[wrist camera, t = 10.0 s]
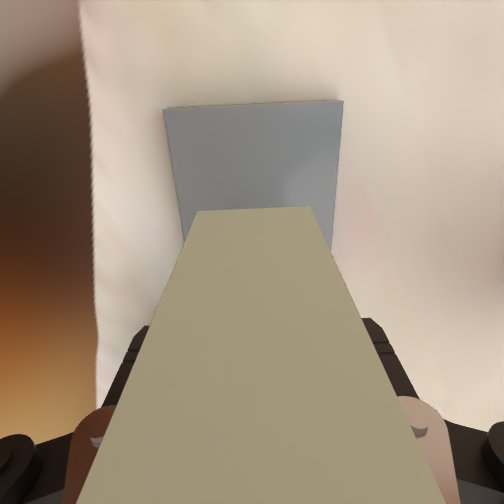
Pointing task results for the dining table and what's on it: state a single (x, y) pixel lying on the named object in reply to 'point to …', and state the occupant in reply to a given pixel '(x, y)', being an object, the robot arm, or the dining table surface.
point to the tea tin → (258, 382)
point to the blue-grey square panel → (256, 157)
